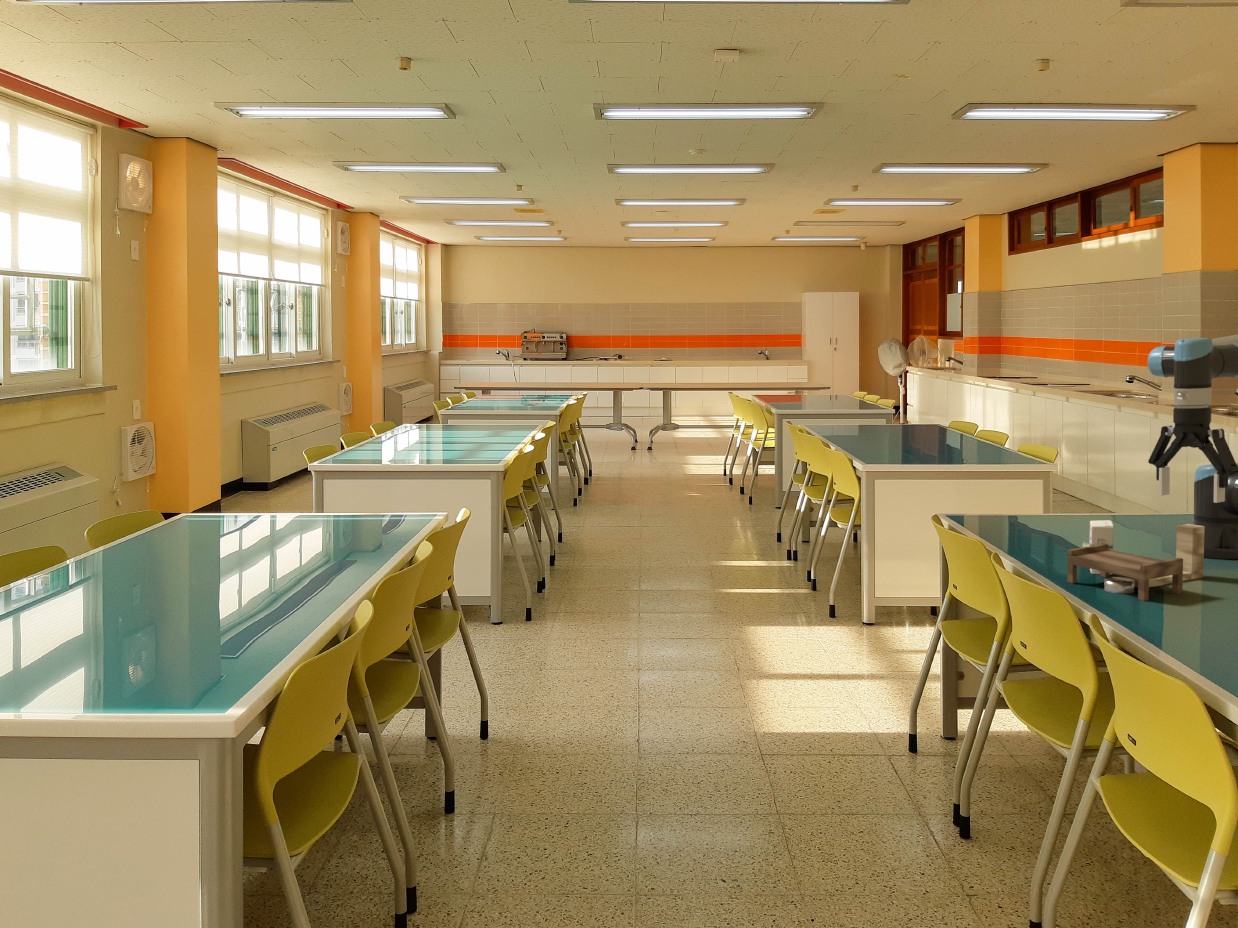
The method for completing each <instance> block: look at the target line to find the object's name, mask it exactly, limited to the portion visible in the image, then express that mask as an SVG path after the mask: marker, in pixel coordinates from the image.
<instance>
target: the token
mask: <svg viewBox="0 0 1238 928" xmlns="http://www.w3.org/2000/svg"><path fill="white" fill-rule="evenodd" d="M1103 586H1104V588H1103V590H1104V591H1105V592H1108V593H1113V594H1120V595H1121V594H1123V595H1124V594H1125V595H1126V594H1133V593H1134V592H1135V587H1134V580H1132V579H1131V578H1130V577H1124V576H1112V577H1111V576H1110V577H1106V578H1105V577H1104V583H1103Z"/></svg>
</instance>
